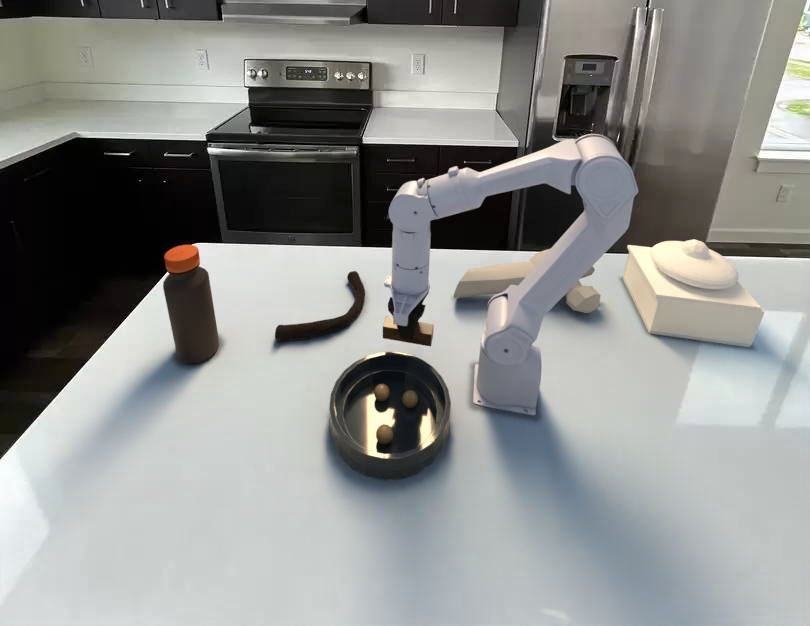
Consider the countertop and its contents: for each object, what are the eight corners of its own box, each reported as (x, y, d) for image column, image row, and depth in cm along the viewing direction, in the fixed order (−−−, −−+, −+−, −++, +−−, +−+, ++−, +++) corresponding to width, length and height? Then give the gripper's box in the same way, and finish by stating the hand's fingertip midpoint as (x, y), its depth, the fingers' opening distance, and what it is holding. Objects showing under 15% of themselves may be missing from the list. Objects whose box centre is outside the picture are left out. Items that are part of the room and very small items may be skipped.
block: (433, 335, 70) (433, 324, 69) (431, 346, 68) (431, 334, 67) (386, 327, 72) (386, 316, 71) (382, 338, 69) (382, 326, 69)
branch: (309, 366, 72) (308, 351, 71) (270, 341, 77) (269, 327, 76) (388, 293, 91) (388, 280, 90) (353, 277, 96) (353, 264, 95)
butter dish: (750, 347, 79) (778, 275, 73) (646, 332, 82) (666, 262, 76) (705, 288, 95) (725, 225, 90) (619, 278, 98) (634, 216, 93)
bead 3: (418, 399, 66) (419, 388, 66) (416, 413, 64) (416, 401, 63) (403, 396, 67) (404, 385, 66) (400, 410, 65) (401, 398, 64)
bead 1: (391, 393, 67) (391, 381, 66) (387, 406, 65) (387, 394, 64) (376, 390, 68) (376, 378, 67) (372, 403, 65) (372, 391, 65)
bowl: (453, 382, 70) (455, 361, 68) (441, 496, 54) (443, 471, 52) (351, 364, 73) (351, 344, 71) (312, 466, 57) (310, 443, 55)
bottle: (199, 370, 71) (181, 268, 64) (168, 358, 73) (146, 259, 66) (228, 341, 77) (213, 246, 70) (198, 331, 79) (181, 238, 72)
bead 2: (394, 434, 61) (394, 422, 60) (390, 450, 59) (391, 438, 58) (378, 430, 61) (378, 418, 61) (374, 446, 59) (374, 434, 58)
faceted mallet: (580, 278, 97) (588, 236, 94) (605, 321, 84) (616, 273, 81) (449, 273, 98) (452, 231, 94) (453, 315, 85) (457, 268, 81)
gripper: (395, 231, 72) (394, 297, 77) (372, 284, 59) (372, 360, 63) (436, 237, 71) (433, 303, 76) (422, 291, 57) (419, 368, 62)
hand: (408, 330), depth 69 cm, fingers closed on block, 2 cm apart
